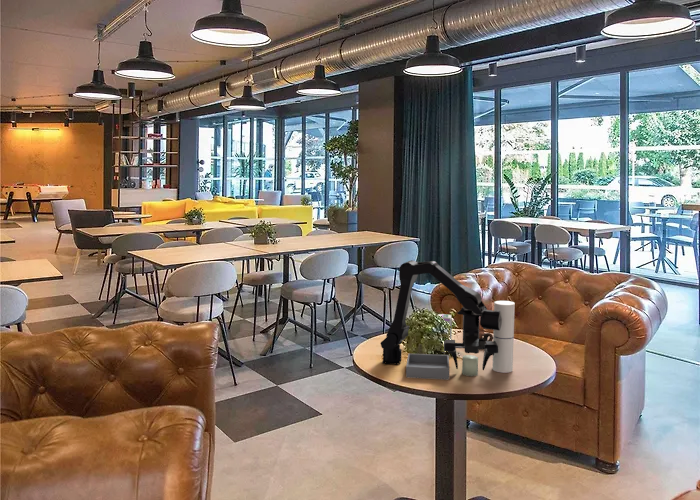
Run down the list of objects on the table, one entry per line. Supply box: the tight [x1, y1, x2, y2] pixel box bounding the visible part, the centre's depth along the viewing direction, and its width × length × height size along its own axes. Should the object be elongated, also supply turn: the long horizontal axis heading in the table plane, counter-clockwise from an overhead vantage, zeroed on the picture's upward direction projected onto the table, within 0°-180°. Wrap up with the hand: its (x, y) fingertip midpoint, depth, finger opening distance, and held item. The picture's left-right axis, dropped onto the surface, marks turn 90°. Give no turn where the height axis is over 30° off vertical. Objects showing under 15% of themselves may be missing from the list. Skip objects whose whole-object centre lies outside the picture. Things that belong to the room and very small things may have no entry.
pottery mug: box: [479, 328, 493, 344], centre depth 236 cm, size 12×10×8 cm
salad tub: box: [461, 354, 479, 377], centre depth 203 cm, size 6×6×6 cm
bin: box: [405, 353, 450, 381], centre depth 205 cm, size 15×15×4 cm
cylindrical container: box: [491, 300, 516, 374], centre depth 206 cm, size 7×7×25 cm
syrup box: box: [437, 313, 452, 340], centre depth 229 cm, size 6×6×14 cm
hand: (470, 369), depth 203 cm, fingers open, 9 cm apart
